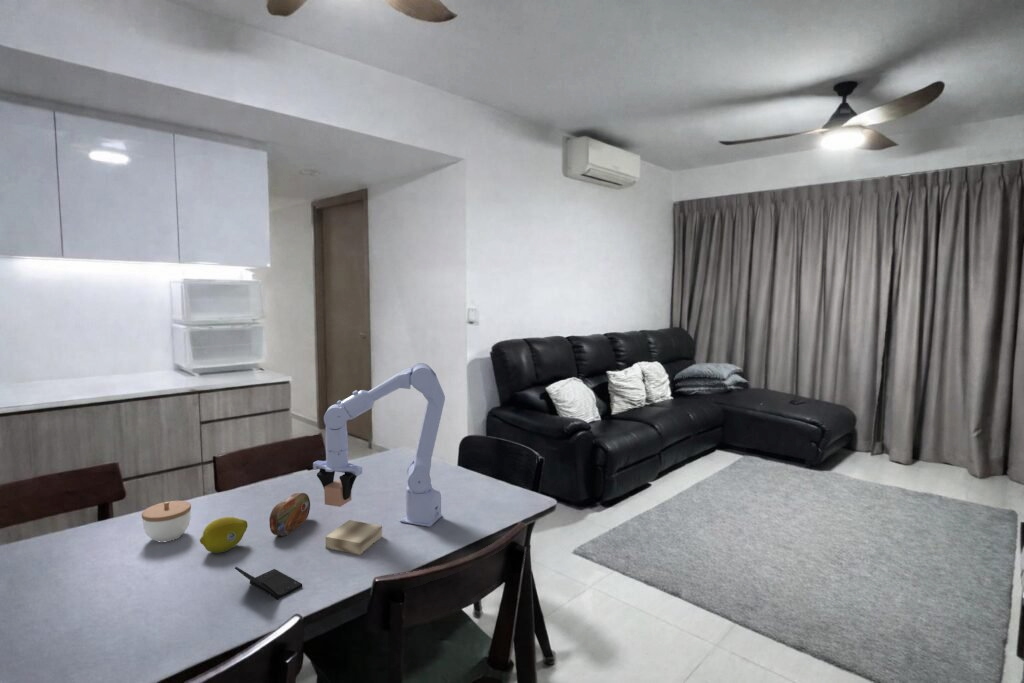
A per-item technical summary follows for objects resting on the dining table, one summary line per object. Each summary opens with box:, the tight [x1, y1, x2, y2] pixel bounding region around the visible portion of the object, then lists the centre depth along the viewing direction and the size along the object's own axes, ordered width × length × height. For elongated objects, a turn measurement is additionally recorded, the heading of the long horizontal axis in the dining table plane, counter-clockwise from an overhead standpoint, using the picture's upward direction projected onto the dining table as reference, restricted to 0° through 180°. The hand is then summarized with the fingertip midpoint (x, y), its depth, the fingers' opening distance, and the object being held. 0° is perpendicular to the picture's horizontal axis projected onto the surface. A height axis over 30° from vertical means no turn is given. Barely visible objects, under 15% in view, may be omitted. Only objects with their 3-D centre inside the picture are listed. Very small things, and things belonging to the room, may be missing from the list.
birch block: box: [325, 519, 383, 556], centre depth 136 cm, size 10×10×3 cm
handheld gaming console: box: [234, 566, 303, 601], centre depth 115 cm, size 12×7×10 cm
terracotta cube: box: [323, 479, 352, 508], centre depth 145 cm, size 5×5×5 cm
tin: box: [269, 492, 311, 537], centre depth 143 cm, size 15×3×8 cm, turn 168°
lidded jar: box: [141, 500, 192, 542], centre depth 137 cm, size 11×11×9 cm
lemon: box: [199, 516, 248, 554], centre depth 131 cm, size 11×8×8 cm
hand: (338, 497), depth 145 cm, fingers closed on terracotta cube, 5 cm apart
